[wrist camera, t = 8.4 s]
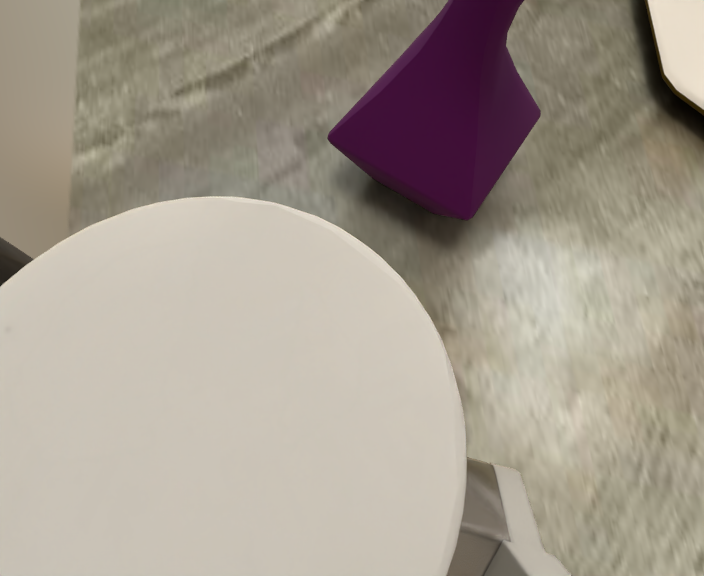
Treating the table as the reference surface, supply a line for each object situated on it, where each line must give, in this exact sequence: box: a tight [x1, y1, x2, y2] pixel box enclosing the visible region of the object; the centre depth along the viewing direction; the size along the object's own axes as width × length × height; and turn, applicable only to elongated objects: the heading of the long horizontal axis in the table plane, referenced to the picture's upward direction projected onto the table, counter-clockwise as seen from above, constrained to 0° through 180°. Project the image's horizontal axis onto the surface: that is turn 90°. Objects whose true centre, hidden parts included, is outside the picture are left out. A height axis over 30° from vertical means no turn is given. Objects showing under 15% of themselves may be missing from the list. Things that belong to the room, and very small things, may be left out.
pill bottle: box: [0, 197, 467, 576], centre depth 8 cm, size 6×6×11 cm
